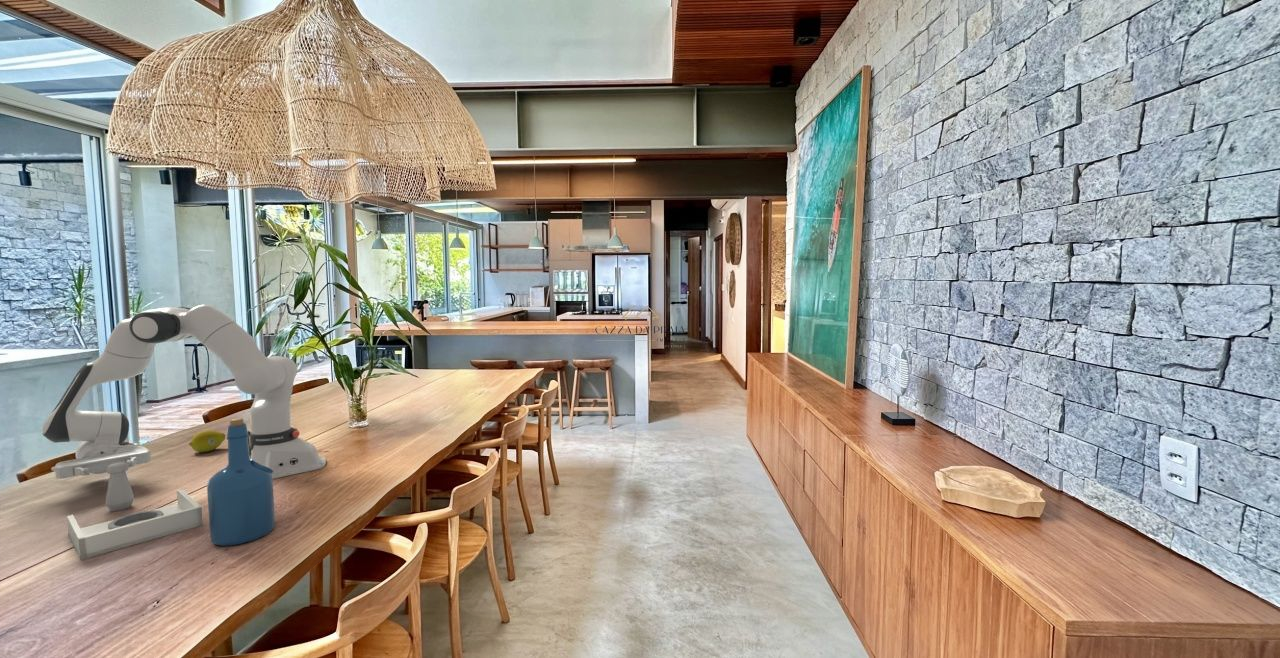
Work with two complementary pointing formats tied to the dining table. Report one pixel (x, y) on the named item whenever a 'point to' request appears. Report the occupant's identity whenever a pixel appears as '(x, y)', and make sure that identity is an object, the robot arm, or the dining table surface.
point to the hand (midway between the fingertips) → (108, 468)
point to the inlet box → (135, 527)
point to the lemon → (207, 441)
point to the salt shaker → (118, 488)
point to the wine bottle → (240, 494)
